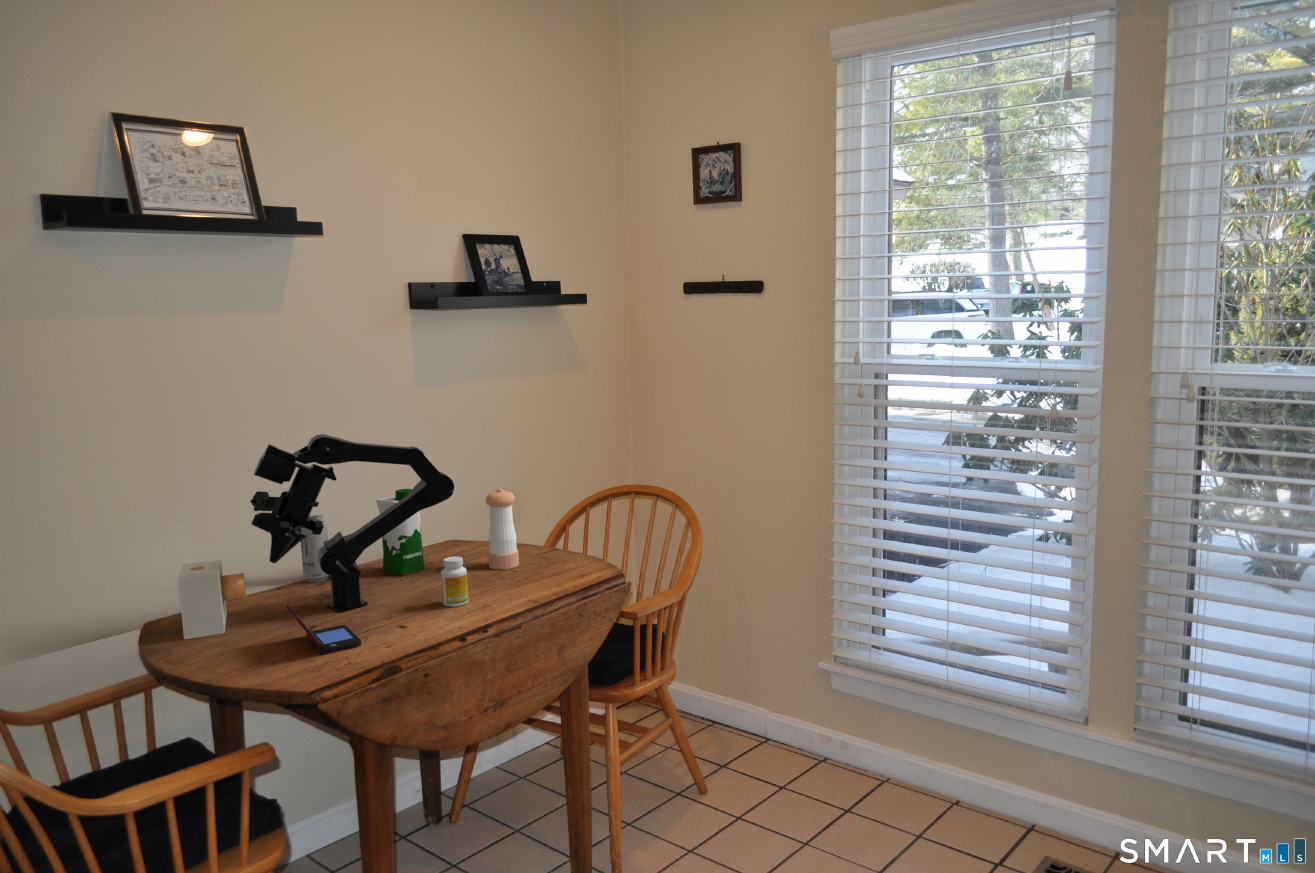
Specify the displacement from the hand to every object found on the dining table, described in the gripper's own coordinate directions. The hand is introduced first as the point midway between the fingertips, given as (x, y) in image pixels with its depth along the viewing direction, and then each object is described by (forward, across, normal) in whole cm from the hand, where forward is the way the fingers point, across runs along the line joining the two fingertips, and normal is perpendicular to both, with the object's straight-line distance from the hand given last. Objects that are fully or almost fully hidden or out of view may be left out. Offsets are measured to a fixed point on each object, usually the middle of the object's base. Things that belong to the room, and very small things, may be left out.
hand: (272, 562), depth 182 cm
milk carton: (-2, -35, +15) cm, 38 cm away
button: (+9, +2, -3) cm, 10 cm away
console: (+16, +4, -5) cm, 17 cm away
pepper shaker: (-13, -39, +36) cm, 54 cm away
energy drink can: (+7, -28, -2) cm, 29 cm away
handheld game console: (+7, +12, +22) cm, 26 cm away
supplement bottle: (-6, -11, +36) cm, 38 cm away
